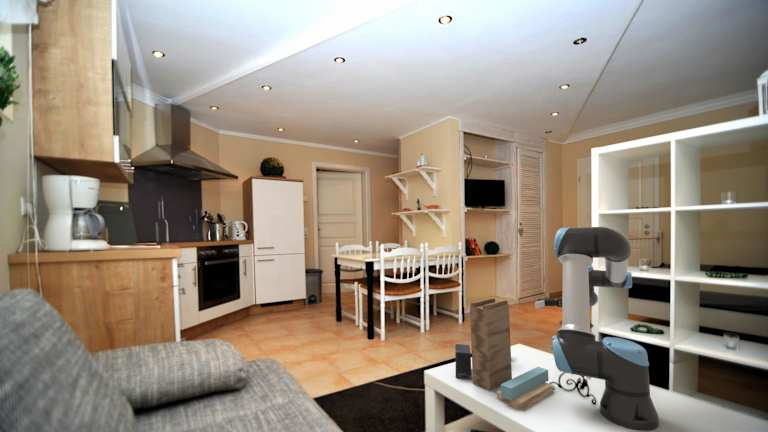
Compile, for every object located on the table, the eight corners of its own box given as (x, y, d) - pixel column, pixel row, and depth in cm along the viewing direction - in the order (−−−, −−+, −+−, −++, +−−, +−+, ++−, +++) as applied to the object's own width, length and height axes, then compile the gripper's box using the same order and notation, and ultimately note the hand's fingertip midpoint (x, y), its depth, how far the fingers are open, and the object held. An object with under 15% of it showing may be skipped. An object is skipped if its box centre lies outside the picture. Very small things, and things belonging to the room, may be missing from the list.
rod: (548, 380, 130) (548, 369, 130) (511, 400, 115) (510, 388, 116) (538, 377, 133) (537, 366, 133) (501, 396, 119) (500, 384, 119)
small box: (472, 379, 138) (471, 352, 139) (455, 378, 140) (454, 352, 140) (470, 368, 149) (469, 344, 149) (455, 367, 150) (454, 343, 151)
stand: (511, 380, 136) (508, 300, 137) (490, 391, 128) (486, 306, 129) (494, 374, 142) (491, 297, 144) (472, 383, 134) (469, 302, 135)
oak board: (553, 392, 126) (552, 385, 126) (522, 410, 114) (522, 402, 114) (527, 382, 134) (527, 376, 134) (496, 398, 122) (496, 391, 122)
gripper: (606, 314, 146) (583, 322, 133) (549, 305, 166) (524, 311, 153) (605, 296, 146) (582, 303, 134) (548, 290, 166) (523, 294, 154)
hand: (551, 307), depth 143 cm, fingers open, 13 cm apart
